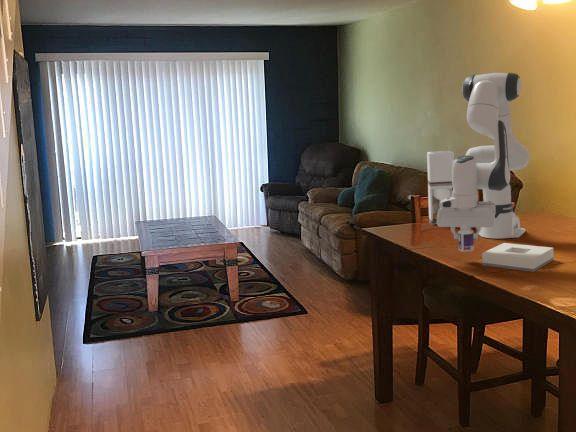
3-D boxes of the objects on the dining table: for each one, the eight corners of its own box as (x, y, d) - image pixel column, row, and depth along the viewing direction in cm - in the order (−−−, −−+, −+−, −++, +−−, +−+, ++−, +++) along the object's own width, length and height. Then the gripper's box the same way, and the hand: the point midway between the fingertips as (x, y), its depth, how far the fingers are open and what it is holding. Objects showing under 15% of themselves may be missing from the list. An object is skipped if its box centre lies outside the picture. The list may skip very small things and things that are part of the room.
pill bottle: (476, 249, 212) (476, 223, 211) (470, 252, 209) (469, 226, 207) (462, 247, 216) (461, 222, 214) (455, 251, 212) (455, 225, 210)
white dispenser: (431, 225, 283) (429, 153, 278) (429, 221, 294) (426, 152, 288) (455, 224, 282) (453, 152, 276) (452, 220, 292) (450, 150, 287)
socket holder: (503, 254, 219) (503, 242, 218) (553, 260, 206) (553, 247, 206) (482, 265, 206) (482, 253, 205) (533, 271, 194) (533, 258, 193)
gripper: (496, 199, 208) (496, 237, 210) (438, 200, 216) (439, 236, 219) (494, 202, 202) (495, 241, 204) (435, 203, 210) (436, 240, 213)
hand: (465, 238), depth 212 cm, fingers closed on pill bottle, 5 cm apart
